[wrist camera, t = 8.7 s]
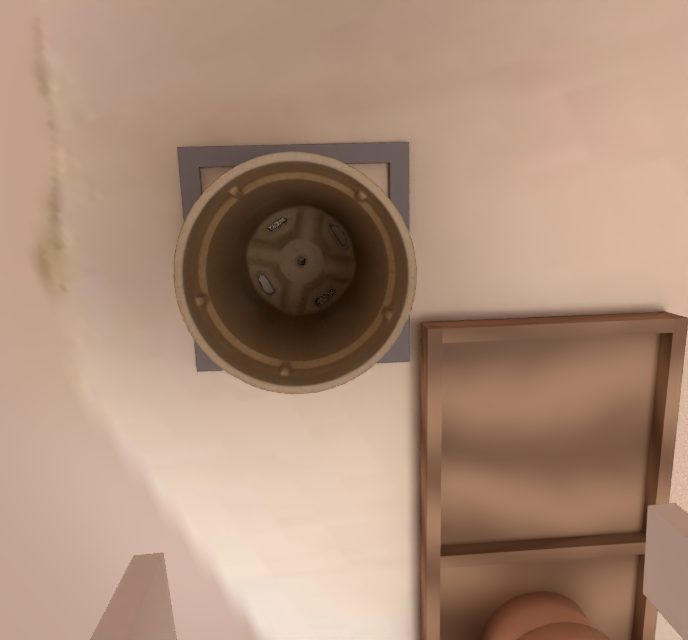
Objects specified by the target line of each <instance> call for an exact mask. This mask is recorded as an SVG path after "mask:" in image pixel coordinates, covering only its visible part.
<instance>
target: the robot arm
mask: <svg viewBox="0 0 688 640" xmlns="http://www.w3.org/2000/svg"><path fill="white" fill-rule="evenodd" d="M643 594H644V595H645V596H646V597H647V598H648V600H649V601H650V602H651V603H652V604H653V605H654V606H655V608H656V609H657V610H658V611H659V612H660V613H661V614H662V616H663V617H664V618H665V619H666V620H667V621H668V622H669V624H670V625H671V626H672V627H673V628H674V629H675V630H676V632H677V633H678V634H679V635H680V636H681V637H682V638H683V640H688V513H687V512H686V511H684V510H683V509H682V508H681V507H679V506H678V505H677V504H676V503H669V504H659V505H649V506H648V512H647V529H646V546H645V563H644V580H643ZM90 640H177V639H176V632H175V625H174V618H173V612H172V605H171V599H170V593H169V586H168V579H167V573H166V566H165V560H164V553H154V554H145V555H134V556H133V558H132V560H131V562H130V564H129V566H128V568H127V570H126V571H125V573H124V575H123V577H122V579H121V581H120V583H119V585H118V587H117V589H116V591H115V593H114V595H113V597H112V599H111V600H110V602H109V604H108V607H107V608H106V610H105V612H104V614H103V616H102V618H101V620H100V622H99V624H98V626H97V628H96V629H95V631H94V633H93V635H92V637H91V639H90Z"/></svg>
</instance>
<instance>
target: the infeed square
mask: <svg viewBox="0 0 688 640" xmlns="http://www.w3.org/2000/svg"><path fill="white" fill-rule="evenodd" d="M177 149H178V161H179V172H180V183H181V194H182V206H183V217H184V222H185V220H186V217H187V215H188V214H189V212H190V210H191V208H192V207H193V205H194V203H195V202H196V201H197V200H198V199H199V197H200V196H201V195H202V187H201V175H200V167H235V166H237V165H239V164H242V163H244V162H246V161H248V160H251V159H254V158H256V157H260V156H264V155H268V154H273V153H280V152H305V153H312V154H318V155H322V156H326V157H329V158H333V159H336V160H338V161H340V162H342V163H345V164H364V163H389V171H390V200H391V202H392V203H393V204H394V206H395V207H396V209H397V211H398V212H399V213H400V215H401V216H402V219H403V221H404V223H405V225H406V227H407V229H408V232H409V142H392V143H346V144H300V145H254V146H208V147H177ZM195 352H196V363H197V372H200V371H221V370H223V369H222V368H221V367H219V366H218V365H217V364H216V363H215V362H213V361H212V360H211V359H210V357H208V356H207V354H206V353H205V352H204V351H203V350H202V349H201V348H200V346H199V345H198V344H197V342H196V341H195ZM391 362H410V314H409V317H408V320H407V322H406V323H405V326H404V328H403V330H402V332H401V334H400V335H399V337H398V338H397V340H396V341H395V343H394V344H393V346H392V347H391V348H390V349H389V351H388V352H387V353H386V354H385V355H384V356H383V357H382V358H381V359H380V360H379V361H378V362H377V363H391Z"/></svg>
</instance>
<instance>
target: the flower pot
mask: <svg viewBox="0 0 688 640" xmlns="http://www.w3.org/2000/svg"><path fill="white" fill-rule="evenodd" d="M281 218H285V219H287V221H286V222H284V223H283V224H281V225H280V229H279V227H278V228H275V229H273V230H272V231H270V230H269V229H268V227H269V226H271V225H272V224H273V223H274V222H276V221H277V220H279V219H281ZM332 225H336V226H337V227H339V228H340V229H341V230H342V232H343V234H344V235H345V237H346V245H345V246H342V245H341V243H340V242H339V240H338V239H337V237H336V236H335V234H334V233H333V232H332V230H331V229H330V228H331V226H332ZM299 258H304V259H305V264H304V265H299V264H298V259H299ZM416 273H417V266H416V260H415V253H414V248H413V243H412V240H411V237H410V235H409V232H408V229H407V227H406V225H405V223H404V221H403V219H402V216H401V215H400V213H399V212H398V211H397V209H396V207H395V206H394V204H393V203H392V202H391V200H390V199H389V198H388V197H387V195H386V194H385V193H384V192H383V191H382V190H381V189H380V188H379V187H378V186H377V185H376V184H375V183H374V182H373V181H371V180H370V179H369V178H368V177H367V176H365V175H364V174H362V173H361V172H359V171H358V170H356V169H354V168H352V167H351V166H349V165H347V164H345V163H342V162H340V161H338V160H336V159H333V158H329V157H326V156H322V155H318V154H312V153H305V152H280V153H273V154H268V155H264V156H260V157H256V158H254V159H251V160H248V161H246V162H244V163H242V164H239V165H237V166H235V167H234V168H232V169H231V170H229V171H228V172H226V173H225V174H223V175H222V176H221V177H219V178H218V179H217V180H216V181H215V182H213V183H212V184H211V185H210V187H209V188H207V189H206V190H205V191H204V192H203V194H202V195H201V196H200V197H199V199H198V200H197V201H196V202H195V203H194V205H193V207H192V208H191V210H190V212H189V214H188V215H187V217H186V220H185V222H184V224H183V227H182V229H181V232H180V235H179V238H178V243H177V247H176V251H175V257H174V285H175V292H176V297H177V302H178V306H179V308H180V312H181V314H182V316H183V319H184V321H185V323H186V325H187V328H188V330H189V332H190V333H191V335H192V336H193V338H194V340H195V341H196V342H197V344H198V345H199V346H200V348H201V349H202V350H203V351H204V352H205V353H206V354H207V356H208V357H210V359H211V360H212V361H213V362H215V363H216V364H217V365H218V366H219V367H221V368H222V369H223V370H224V371H226V372H227V373H229V374H231V375H232V376H234V377H236V378H238V379H240V380H242V381H244V382H245V383H248V384H250V385H252V386H254V387H259V388H260V389H263V390H267V391H272V392H277V393H285V394H304V393H316V392H320V391H324V390H328V389H331V388H334V387H336V386H339V385H343V384H345V383H347V382H348V381H350V380H353V379H354V378H356V377H358V376H360V375H361V374H363V373H364V372H366V371H367V370H368V369H370V368H371V367H372V366H373V365H374V364H376V363H377V362H378V361H379V360H380V359H381V358H382V357H383V356H384V355H385V354H386V353H387V352H388V351H389V349H390V348H391V347H392V346H393V344H394V343H395V341H396V340H397V338H398V337H399V335H400V334H401V332H402V330H403V328H404V326H405V323H406V322H407V320H408V317H409V314H410V311H411V309H412V304H413V302H414V296H415V289H416ZM262 274H263V275H265V276H266V278H267V279H268V281H269V282H270V284H271V286H272V287H273V288H274V289H275V291H274V293H272V294H268V293H266V292H265V291H264V289H263V287H262V285H261V283H260V281H259V278H258V276H260V275H262ZM331 289H334V290H335V293H333V295H332V297H331V298H329V299H328V300H327V301H326V302H324V303H323V304H321V305H317V304H316V303H315V302H316V299H317V298H318V297H320V296H322V295H324V294H326V293H327V292H328V291H329V290H331Z"/></svg>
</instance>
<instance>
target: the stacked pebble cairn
mask: <svg viewBox="0 0 688 640" xmlns="http://www.w3.org/2000/svg"><path fill="white" fill-rule="evenodd" d="M481 640H610V639H609V638H608V637H607V636H606V635H605V634H603V633H602V632H601V631H599V630H597V629H595V628H594V627H593V625H592V624H591V622H590V621H589V619H588V618H587V616H586V615H585V614H584V612H583V611H582V609H581V608H580V607H579V606H578V605H577V604H576V603H575V602H574V601H573V600H571V599H570V598H568V597H566V596H564V595H561V594H558V593H554V592H547V591H537V592H530V593H526V594H522V595H520V596H517V597H515V598H513V599H511V600H509V601H507V602H506V603H504V604H503V605H502V606H501V607H499V608H498V609H497V610H496V611H495V612H494V613H493V614H492V616H491V617H490V618H489V620H488V621H487V623H486V625H485V627H484V630H483V632H482V636H481Z"/></svg>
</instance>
